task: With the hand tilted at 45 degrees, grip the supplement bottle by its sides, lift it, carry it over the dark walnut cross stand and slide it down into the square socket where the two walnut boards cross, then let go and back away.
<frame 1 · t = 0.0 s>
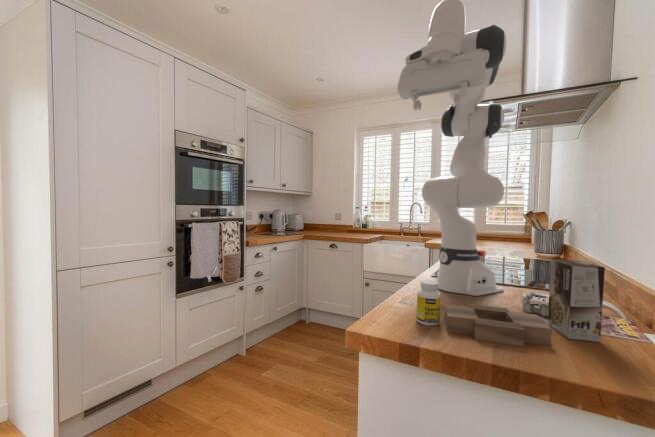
hand: (436, 105, 73), 52 cm above the counter, tool tilted 20°, fingers open, 8 cm apart
coffee box: (572, 333, 70), on the counter
walnut cross stand: (492, 330, 70), on the counter
supplement bottle: (427, 322, 74), on the counter
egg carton: (539, 311, 86), on the counter
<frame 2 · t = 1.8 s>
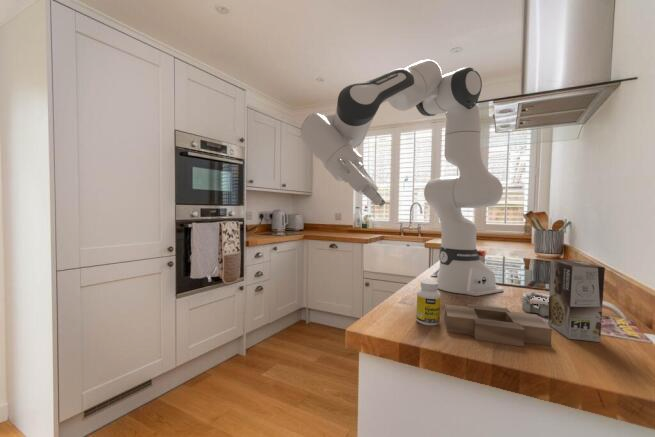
hand: (381, 204, 76), 28 cm above the counter, tool tilted 45°, fingers open, 8 cm apart
nothing on the counter moved.
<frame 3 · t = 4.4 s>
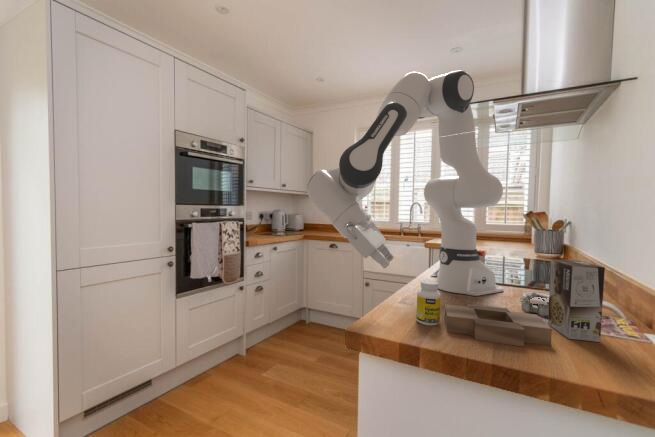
hand: (389, 262, 77), 14 cm above the counter, tool tilted 45°, fingers open, 8 cm apart
nothing on the counter moved.
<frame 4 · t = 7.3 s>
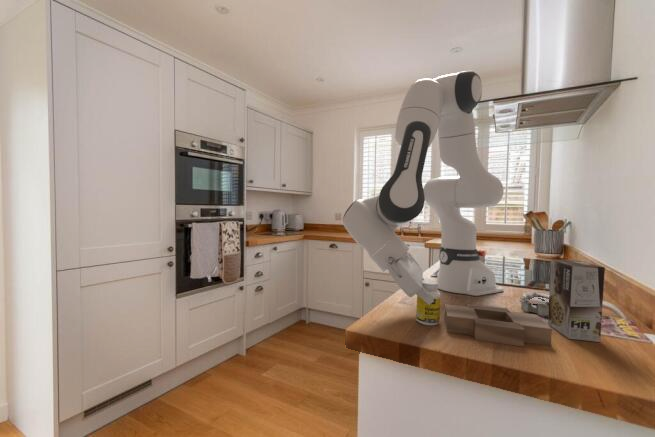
hand: (431, 298, 74), 6 cm above the counter, tool tilted 45°, fingers closed on supplement bottle, 5 cm apart
supplement bottle: (427, 322, 74), on the counter, touching gripper
everything else where it was.
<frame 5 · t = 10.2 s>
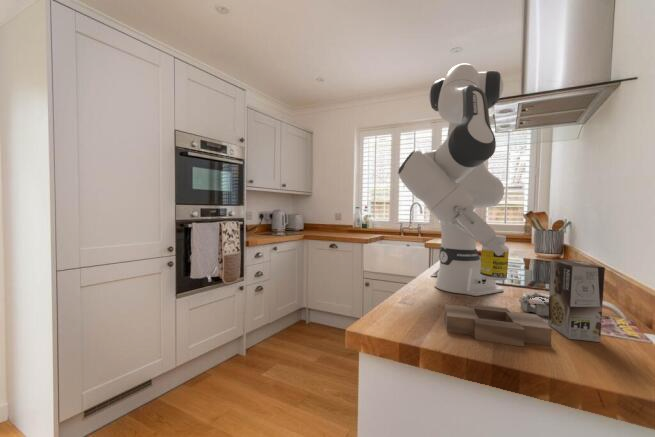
hand: (497, 251, 69), 18 cm above the counter, tool tilted 45°, fingers closed on supplement bottle, 5 cm apart
supplement bottle: (493, 279, 70), point 12 cm above the counter, touching gripper
everything else where it was.
when the fingers open (7 cm above the counter, at t = 13.3 s): supplement bottle stays where it is, resting in walnut cross stand.
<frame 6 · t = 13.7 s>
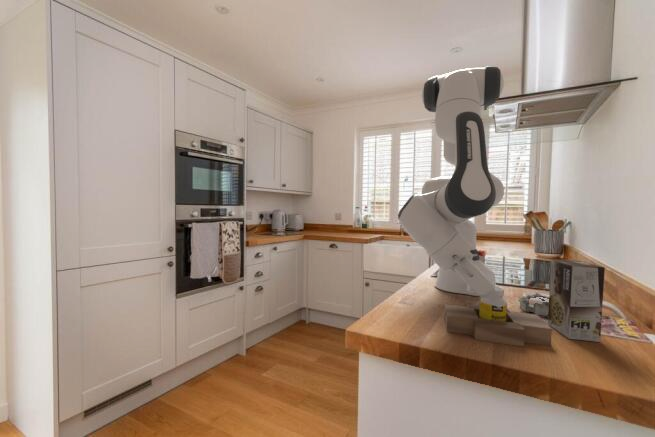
hand: (496, 298, 69), 7 cm above the counter, tool tilted 45°, fingers open, 8 cm apart
supplement bottle: (491, 331, 70), resting in walnut cross stand
everything else where it was.
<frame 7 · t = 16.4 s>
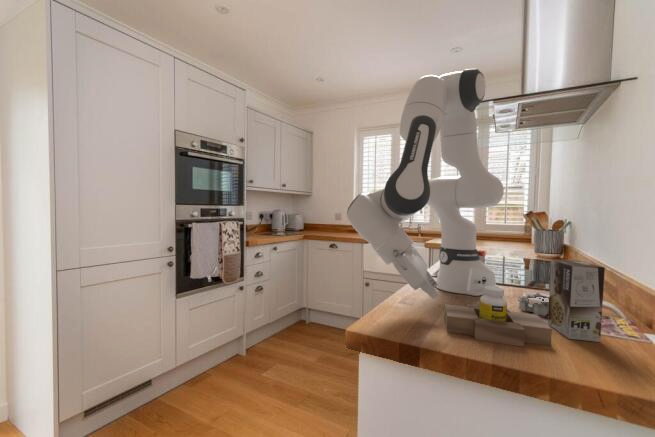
hand: (435, 291, 74), 8 cm above the counter, tool tilted 45°, fingers open, 8 cm apart
nothing on the counter moved.
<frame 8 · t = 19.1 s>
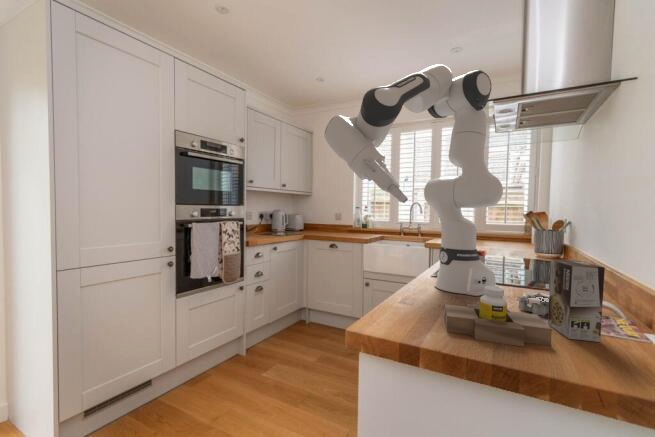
hand: (405, 200, 80), 29 cm above the counter, tool tilted 45°, fingers open, 8 cm apart
at the end: supplement bottle 0.1 cm off-centre on the walnut cross stand, point 0.0 cm above the walnut cross stand's base; supplement bottle tilted 0°; the gripper is holding nothing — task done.
